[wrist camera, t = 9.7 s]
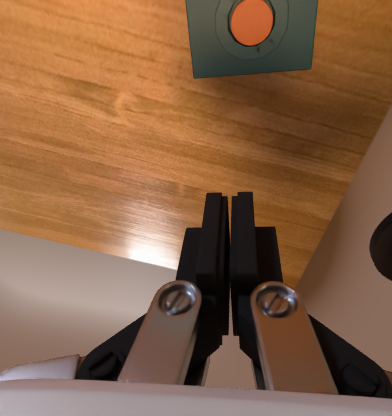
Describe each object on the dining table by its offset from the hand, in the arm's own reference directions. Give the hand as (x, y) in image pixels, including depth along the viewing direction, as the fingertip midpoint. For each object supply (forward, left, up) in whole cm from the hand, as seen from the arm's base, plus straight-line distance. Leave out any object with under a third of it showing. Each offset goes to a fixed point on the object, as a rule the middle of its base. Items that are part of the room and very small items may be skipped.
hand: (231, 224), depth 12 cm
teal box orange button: (-2, -4, -29) cm, 29 cm away
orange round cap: (-1, -4, -25) cm, 25 cm away
